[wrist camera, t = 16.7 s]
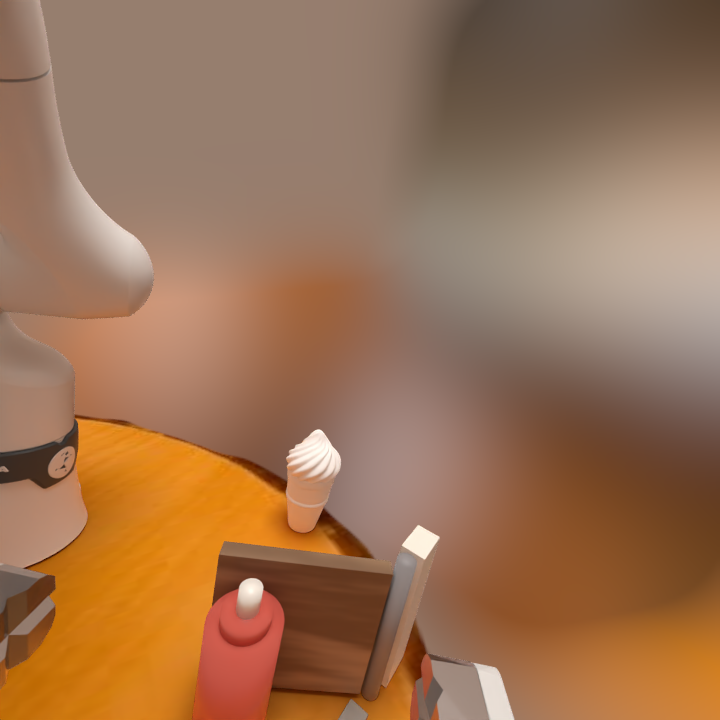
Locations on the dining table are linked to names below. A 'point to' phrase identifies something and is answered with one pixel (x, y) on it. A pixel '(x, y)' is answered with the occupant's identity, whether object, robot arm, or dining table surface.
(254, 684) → the ketchup bottle
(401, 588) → the white-tipped grey slat
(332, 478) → the soft serve ice cream cone
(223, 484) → the dining table surface
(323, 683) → the door
